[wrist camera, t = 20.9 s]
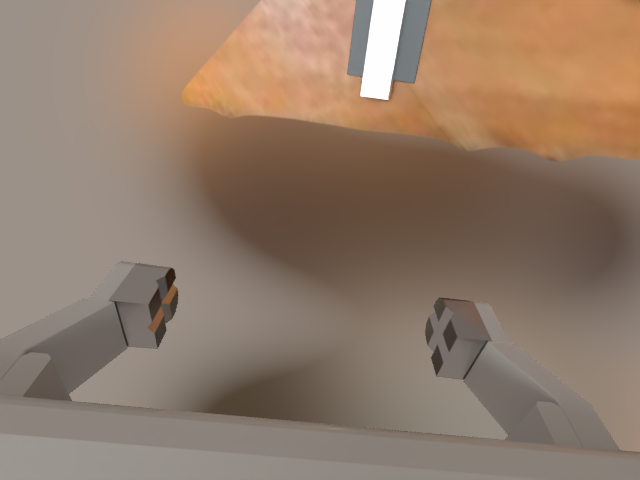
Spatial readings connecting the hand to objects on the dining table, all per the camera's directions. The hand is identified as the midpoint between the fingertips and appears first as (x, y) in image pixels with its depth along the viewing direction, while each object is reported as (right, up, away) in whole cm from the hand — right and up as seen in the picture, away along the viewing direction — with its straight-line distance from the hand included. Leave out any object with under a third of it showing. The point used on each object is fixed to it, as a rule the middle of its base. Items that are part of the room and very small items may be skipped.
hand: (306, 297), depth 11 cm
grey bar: (+10, +31, +38) cm, 50 cm away
